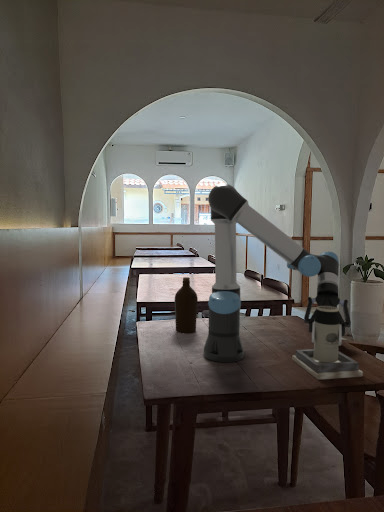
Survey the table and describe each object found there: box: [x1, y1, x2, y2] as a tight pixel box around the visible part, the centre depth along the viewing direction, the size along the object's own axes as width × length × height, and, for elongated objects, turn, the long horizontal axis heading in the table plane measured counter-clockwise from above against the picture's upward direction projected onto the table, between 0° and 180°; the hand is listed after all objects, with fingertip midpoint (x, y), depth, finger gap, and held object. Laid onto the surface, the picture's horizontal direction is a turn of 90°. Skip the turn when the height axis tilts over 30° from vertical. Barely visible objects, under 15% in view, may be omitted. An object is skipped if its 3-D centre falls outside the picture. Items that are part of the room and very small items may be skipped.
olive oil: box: [174, 276, 198, 335], centre depth 168 cm, size 11×11×25 cm
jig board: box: [291, 348, 364, 380], centre depth 126 cm, size 16×18×4 cm
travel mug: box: [313, 305, 340, 363], centre depth 125 cm, size 8×8×18 cm
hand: (326, 341), depth 122 cm, fingers closed on travel mug, 8 cm apart
